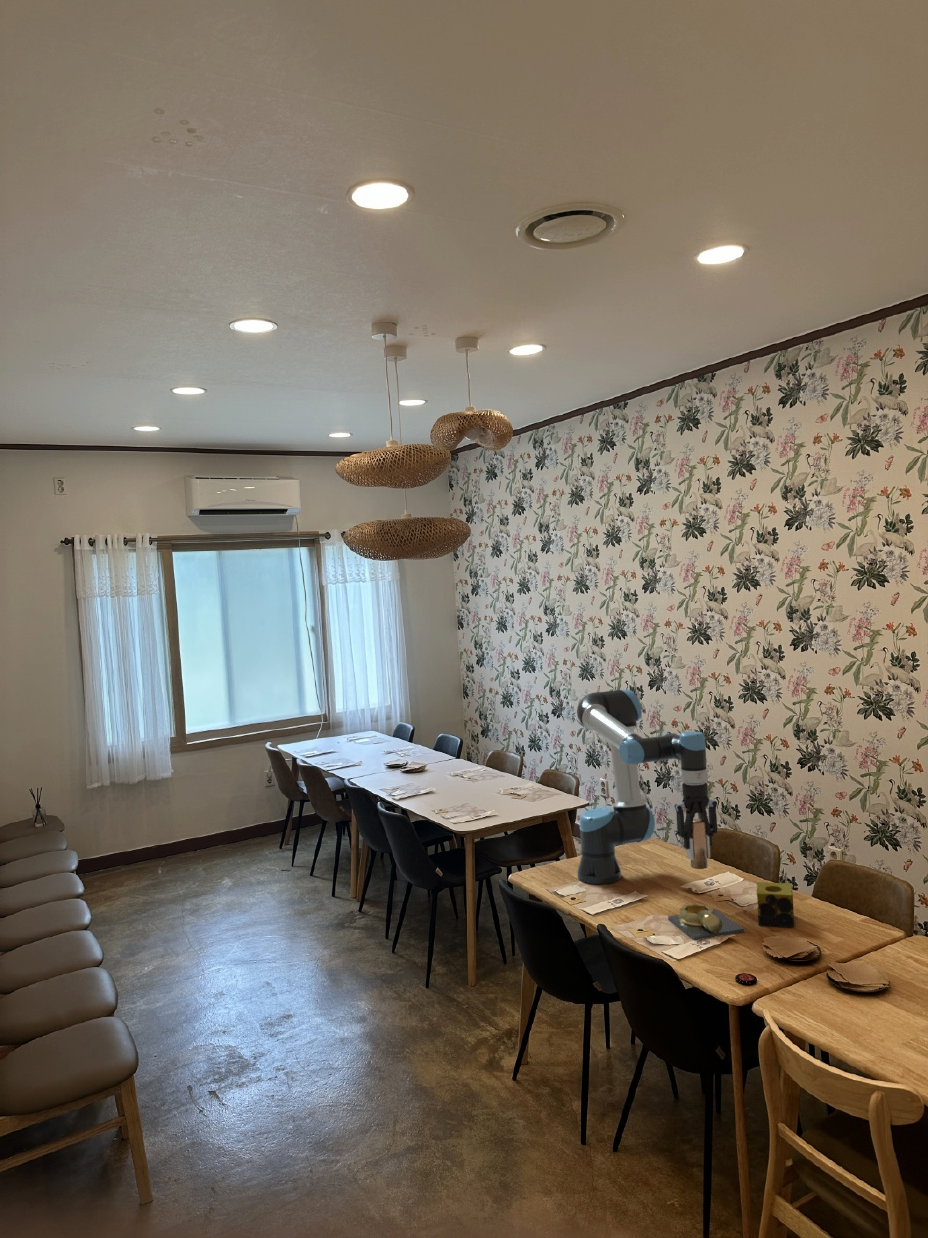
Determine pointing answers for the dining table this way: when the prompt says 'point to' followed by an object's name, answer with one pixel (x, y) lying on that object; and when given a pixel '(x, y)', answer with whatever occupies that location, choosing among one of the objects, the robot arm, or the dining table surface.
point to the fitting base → (704, 931)
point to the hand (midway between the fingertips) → (698, 857)
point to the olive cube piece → (775, 904)
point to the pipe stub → (699, 844)
